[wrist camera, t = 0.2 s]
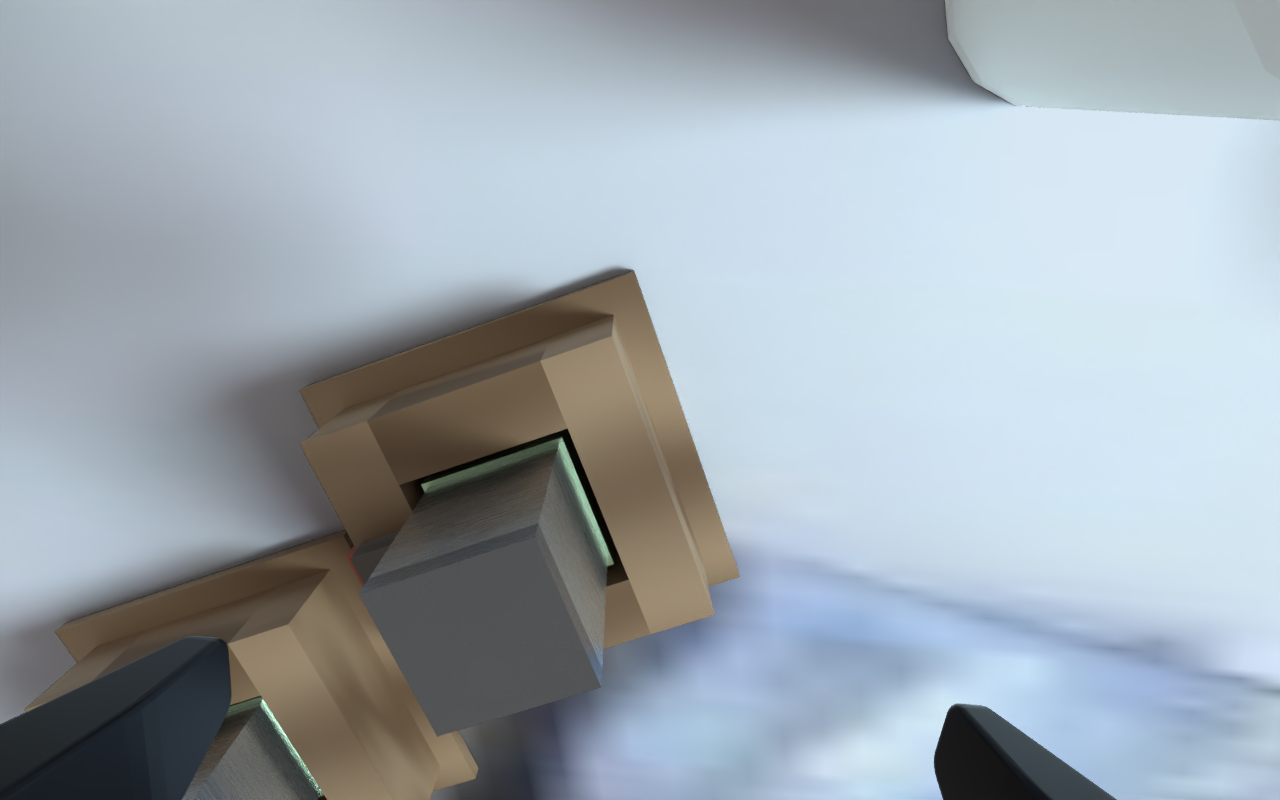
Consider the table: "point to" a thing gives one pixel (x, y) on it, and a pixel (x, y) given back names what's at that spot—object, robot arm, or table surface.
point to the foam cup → (1124, 54)
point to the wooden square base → (291, 667)
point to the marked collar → (524, 411)
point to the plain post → (252, 760)
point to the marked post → (497, 586)
